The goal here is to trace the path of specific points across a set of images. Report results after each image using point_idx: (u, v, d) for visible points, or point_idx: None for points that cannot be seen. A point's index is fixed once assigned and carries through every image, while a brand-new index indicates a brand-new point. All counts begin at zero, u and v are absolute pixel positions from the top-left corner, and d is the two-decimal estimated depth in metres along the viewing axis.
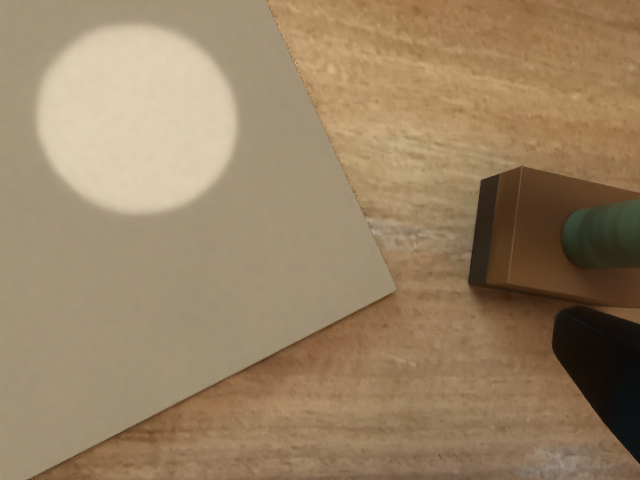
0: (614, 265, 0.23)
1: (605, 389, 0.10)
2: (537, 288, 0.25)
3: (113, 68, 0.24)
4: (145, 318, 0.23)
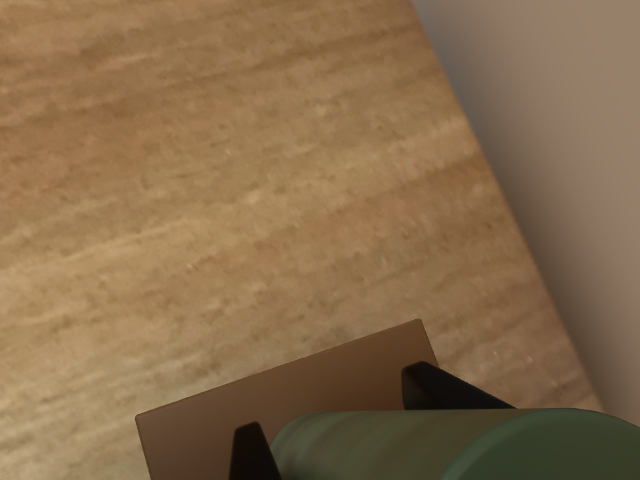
0: None
1: None
2: None
3: None
4: None
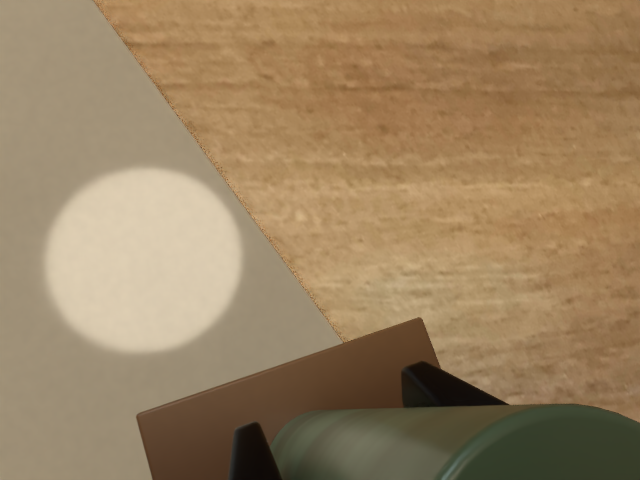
0: None
1: None
2: None
3: (41, 276, 0.20)
4: None
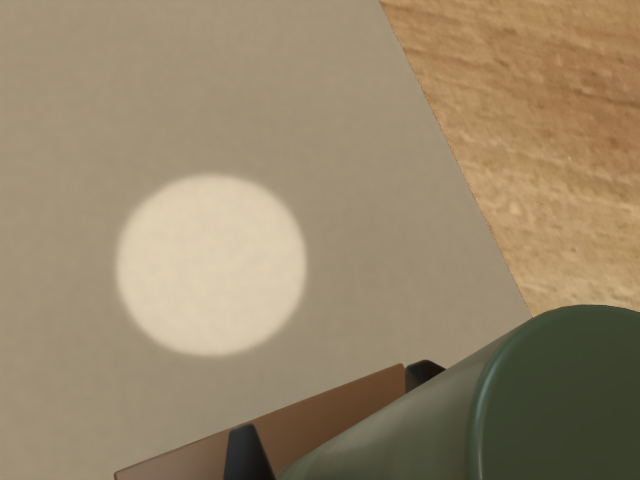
0: None
1: None
2: None
3: (256, 199, 0.19)
4: None
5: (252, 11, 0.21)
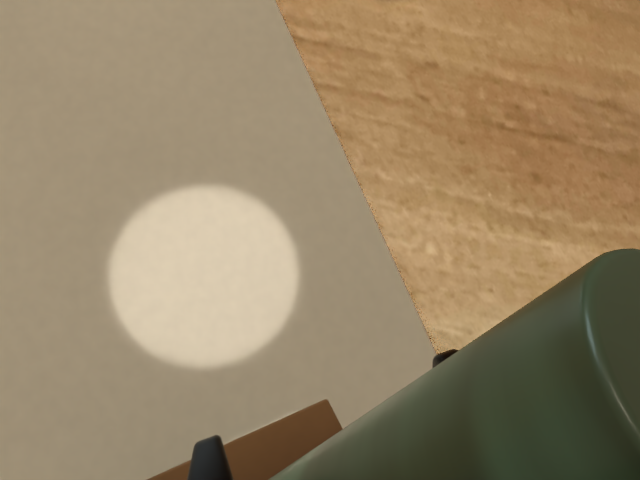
0: None
1: None
2: None
3: (155, 246, 0.19)
4: None
5: (159, 51, 0.21)
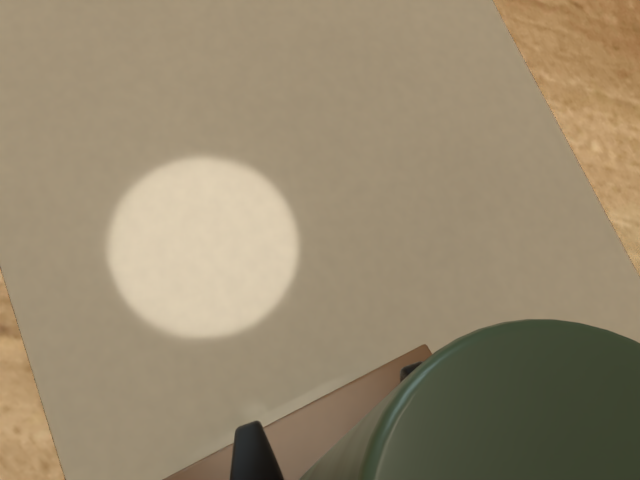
0: None
1: None
2: None
3: (354, 132, 0.19)
4: None
5: None
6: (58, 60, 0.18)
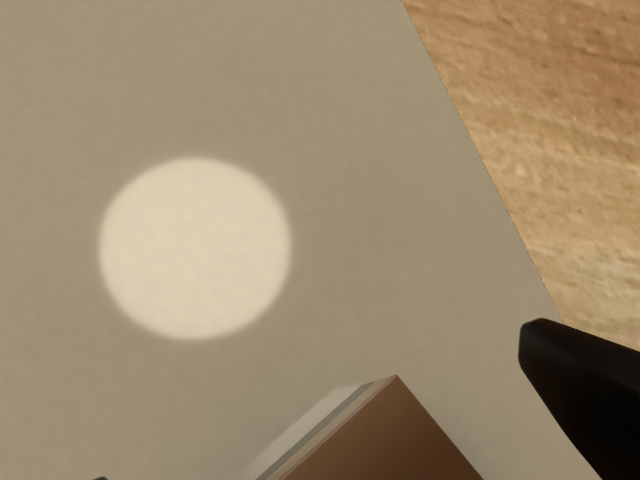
0: None
1: (568, 404, 0.10)
2: None
3: (256, 160, 0.18)
4: None
5: None
6: None
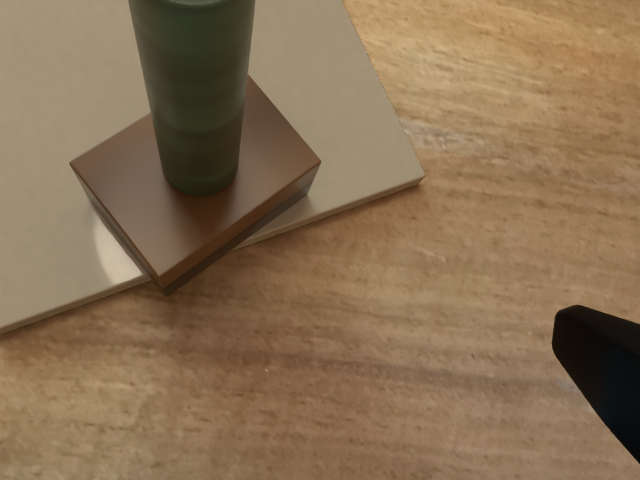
0: (215, 169, 0.18)
1: (605, 389, 0.10)
2: (194, 252, 0.20)
3: None
4: None
5: None
6: None
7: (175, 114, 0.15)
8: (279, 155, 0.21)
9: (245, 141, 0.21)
